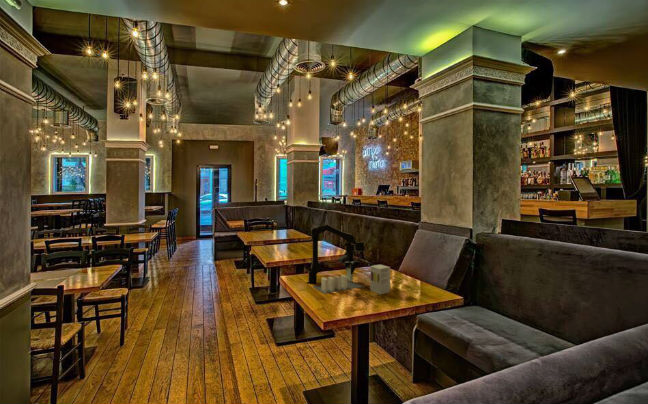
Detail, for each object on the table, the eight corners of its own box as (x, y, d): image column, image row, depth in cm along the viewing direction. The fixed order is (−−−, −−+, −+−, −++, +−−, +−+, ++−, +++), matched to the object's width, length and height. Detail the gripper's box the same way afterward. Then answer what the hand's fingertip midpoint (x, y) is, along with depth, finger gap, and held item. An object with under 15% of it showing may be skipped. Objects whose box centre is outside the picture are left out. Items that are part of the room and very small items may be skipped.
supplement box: (369, 291, 228) (369, 265, 227) (379, 288, 233) (379, 263, 232) (380, 294, 220) (380, 268, 219) (390, 292, 225) (390, 266, 225)
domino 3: (334, 287, 232) (334, 276, 232) (336, 287, 233) (337, 275, 233) (338, 289, 228) (338, 277, 228) (340, 289, 229) (341, 277, 228)
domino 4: (340, 286, 235) (340, 275, 234) (343, 286, 236) (343, 274, 235) (344, 288, 230) (344, 276, 230) (347, 288, 231) (347, 276, 231)
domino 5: (346, 278, 249) (346, 267, 248) (348, 278, 250) (348, 267, 249) (350, 280, 244) (350, 269, 244) (352, 280, 245) (352, 268, 245)
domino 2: (328, 289, 230) (328, 277, 229) (330, 288, 231) (330, 276, 230) (331, 291, 225) (331, 278, 225) (334, 290, 226) (334, 278, 226)
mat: (311, 287, 236) (311, 286, 236) (350, 281, 251) (350, 280, 251) (324, 294, 220) (324, 293, 220) (365, 287, 236) (365, 286, 236)
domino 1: (321, 290, 227) (321, 278, 227) (324, 289, 228) (324, 277, 228) (325, 292, 223) (325, 279, 223) (327, 291, 224) (327, 279, 224)
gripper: (333, 250, 250) (333, 271, 251) (347, 255, 234) (347, 277, 235) (346, 249, 256) (346, 269, 256) (361, 253, 239) (360, 275, 240)
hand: (349, 273), depth 247 cm, fingers closed on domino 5, 5 cm apart
